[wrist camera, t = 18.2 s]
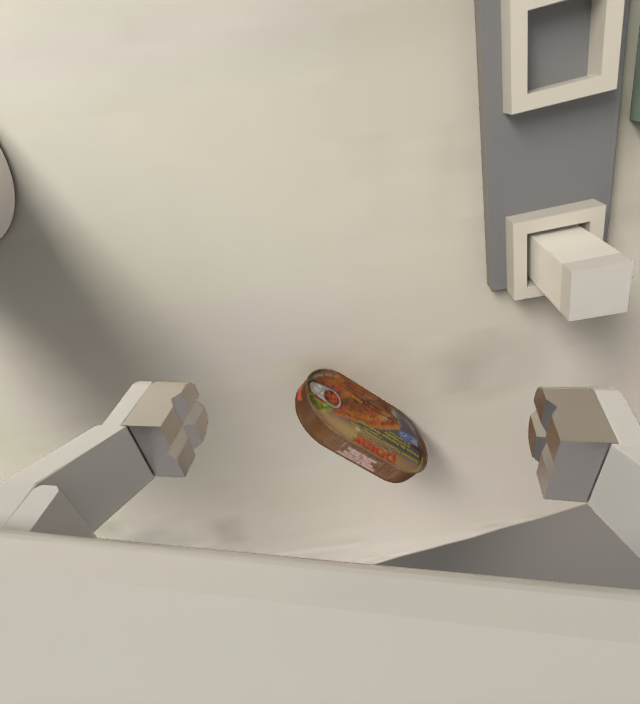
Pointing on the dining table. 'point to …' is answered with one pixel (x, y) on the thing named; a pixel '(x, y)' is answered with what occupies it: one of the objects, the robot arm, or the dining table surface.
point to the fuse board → (546, 123)
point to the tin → (360, 426)
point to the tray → (636, 88)
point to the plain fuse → (579, 272)
